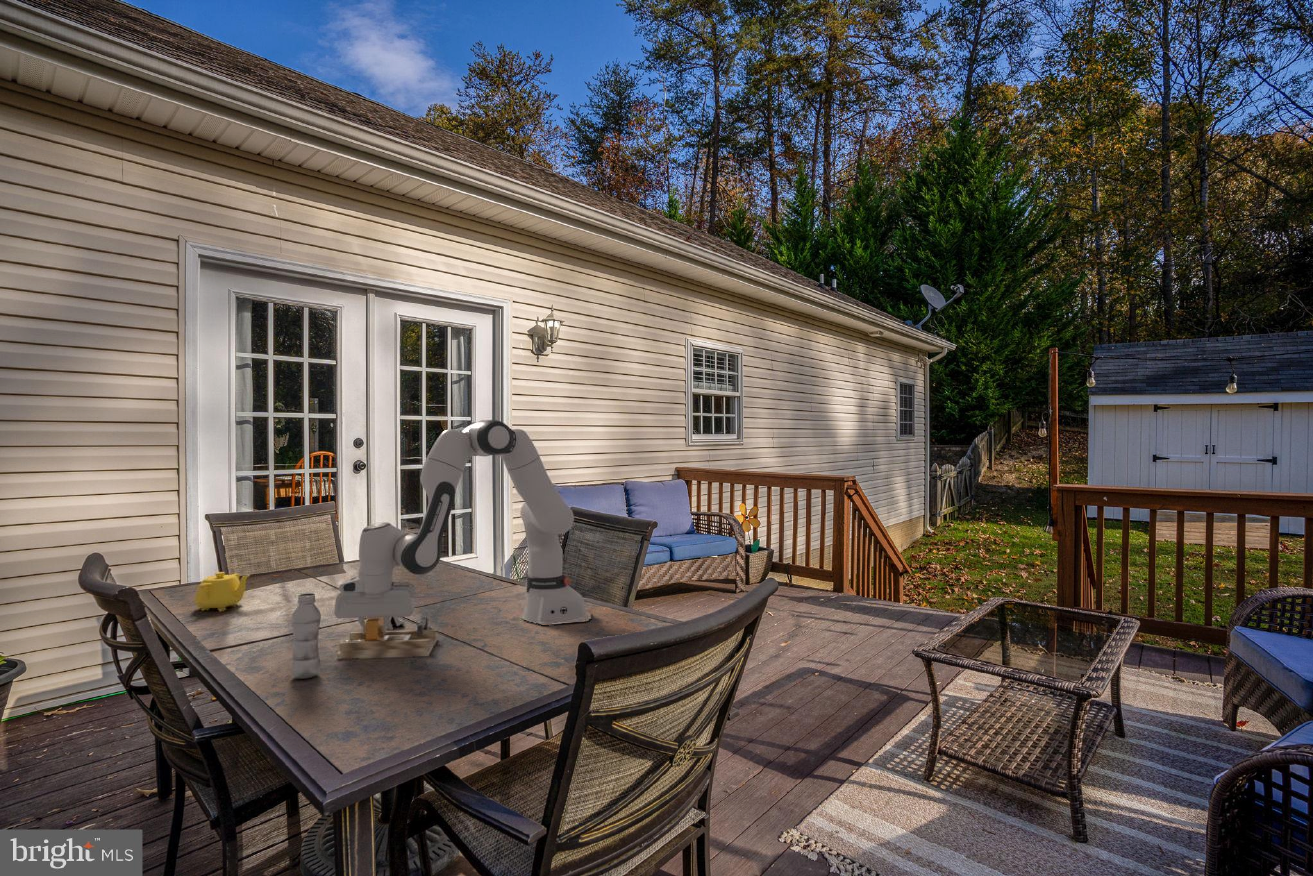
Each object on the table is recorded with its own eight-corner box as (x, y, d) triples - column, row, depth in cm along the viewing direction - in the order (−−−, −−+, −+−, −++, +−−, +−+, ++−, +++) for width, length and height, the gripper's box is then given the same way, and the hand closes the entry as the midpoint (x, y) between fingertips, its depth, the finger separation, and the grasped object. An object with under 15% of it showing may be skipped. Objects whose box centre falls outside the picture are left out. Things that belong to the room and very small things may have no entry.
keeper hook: (428, 634, 186) (428, 617, 186) (422, 643, 178) (423, 625, 178) (421, 634, 185) (422, 617, 185) (416, 643, 177) (416, 625, 177)
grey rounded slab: (406, 627, 197) (395, 598, 195) (391, 635, 194) (380, 605, 192) (386, 614, 209) (376, 587, 207) (372, 622, 206) (362, 594, 204)
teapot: (199, 616, 203) (200, 579, 203) (190, 607, 213) (190, 572, 213) (250, 608, 213) (250, 573, 213) (239, 600, 223) (239, 566, 223)
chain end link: (411, 638, 181) (412, 613, 181) (406, 646, 174) (406, 621, 174) (344, 640, 178) (345, 615, 178) (336, 649, 171) (336, 622, 171)
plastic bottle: (299, 684, 151) (301, 599, 151) (284, 678, 155) (285, 595, 155) (326, 676, 156) (327, 594, 156) (310, 670, 160) (312, 590, 160)
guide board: (437, 639, 186) (437, 627, 186) (428, 656, 172) (428, 643, 172) (352, 642, 182) (353, 629, 182) (336, 659, 168) (337, 646, 168)
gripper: (417, 579, 181) (416, 628, 181) (340, 580, 178) (339, 630, 178) (413, 584, 175) (411, 635, 175) (332, 585, 171) (331, 637, 171)
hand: (374, 632), depth 176 cm, fingers closed on chain end link, 3 cm apart
